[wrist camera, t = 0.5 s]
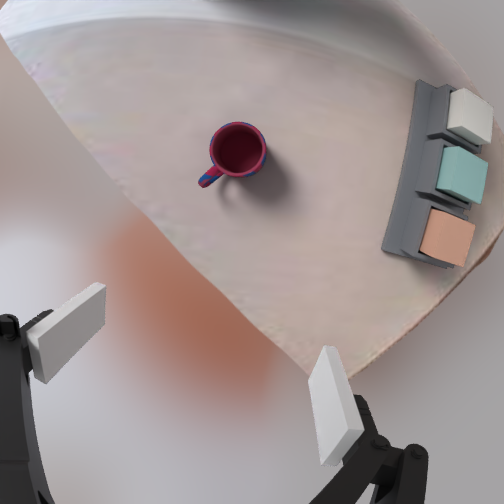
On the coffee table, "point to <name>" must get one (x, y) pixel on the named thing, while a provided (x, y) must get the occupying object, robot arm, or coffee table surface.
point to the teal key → (461, 175)
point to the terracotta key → (447, 237)
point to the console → (424, 175)
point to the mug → (235, 152)
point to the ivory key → (469, 117)
